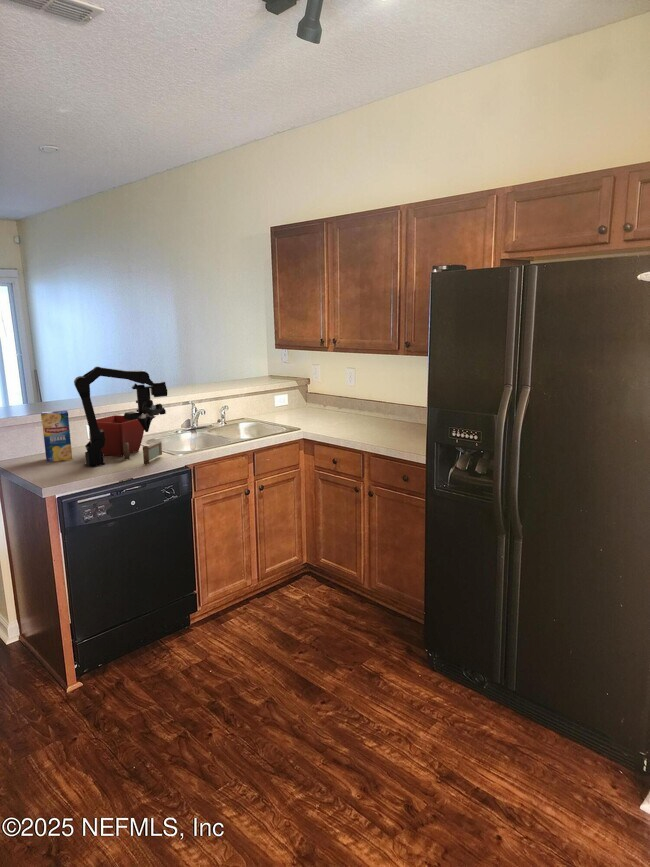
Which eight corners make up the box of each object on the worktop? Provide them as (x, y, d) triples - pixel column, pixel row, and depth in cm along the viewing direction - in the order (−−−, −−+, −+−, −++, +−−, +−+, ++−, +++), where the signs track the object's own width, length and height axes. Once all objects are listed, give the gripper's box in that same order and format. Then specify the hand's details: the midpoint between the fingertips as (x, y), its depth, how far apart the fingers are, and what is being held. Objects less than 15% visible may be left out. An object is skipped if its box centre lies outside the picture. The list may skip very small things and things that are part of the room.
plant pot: (117, 447, 287) (114, 414, 283) (149, 450, 280) (146, 416, 277) (90, 456, 269) (86, 421, 266) (123, 459, 263) (120, 423, 259)
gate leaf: (146, 460, 256) (145, 447, 254) (158, 454, 267) (157, 441, 266) (150, 460, 255) (149, 447, 254) (162, 454, 267) (161, 441, 265)
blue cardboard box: (45, 459, 264) (40, 412, 259) (71, 456, 269) (67, 410, 264) (46, 462, 258) (41, 414, 253) (72, 459, 263) (68, 412, 258)
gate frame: (145, 464, 252) (144, 447, 251) (123, 459, 263) (121, 442, 261) (150, 463, 254) (149, 446, 253) (127, 458, 265) (126, 441, 263)
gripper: (136, 402, 245) (139, 437, 248) (171, 396, 260) (174, 430, 263) (121, 400, 252) (125, 434, 255) (156, 395, 266) (159, 427, 270)
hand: (146, 431), depth 260 cm, fingers closed
